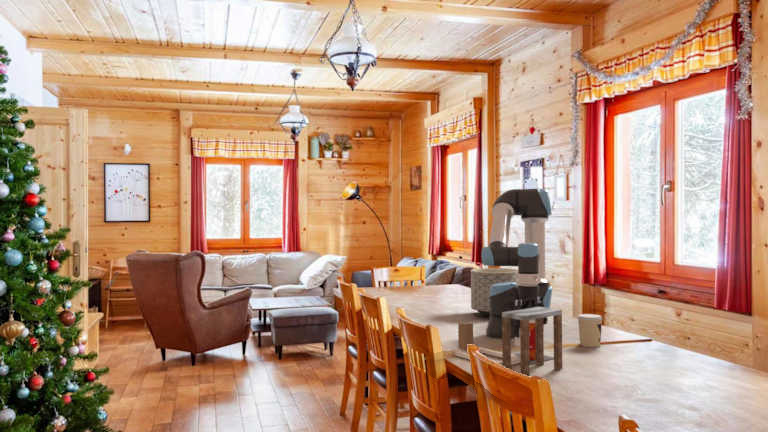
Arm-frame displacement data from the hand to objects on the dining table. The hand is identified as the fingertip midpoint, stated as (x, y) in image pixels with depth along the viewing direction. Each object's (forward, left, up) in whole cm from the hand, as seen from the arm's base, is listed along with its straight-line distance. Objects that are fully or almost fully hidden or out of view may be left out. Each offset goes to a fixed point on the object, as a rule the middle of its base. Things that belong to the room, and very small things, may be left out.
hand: (529, 343), depth 222 cm
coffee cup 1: (+1, 0, -5) cm, 5 cm away
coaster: (0, 0, -5) cm, 5 cm away
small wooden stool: (+13, -13, -5) cm, 19 cm away
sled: (-9, -13, -5) cm, 17 cm away
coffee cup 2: (+1, +36, -6) cm, 36 cm away
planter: (-72, +58, -6) cm, 93 cm away
